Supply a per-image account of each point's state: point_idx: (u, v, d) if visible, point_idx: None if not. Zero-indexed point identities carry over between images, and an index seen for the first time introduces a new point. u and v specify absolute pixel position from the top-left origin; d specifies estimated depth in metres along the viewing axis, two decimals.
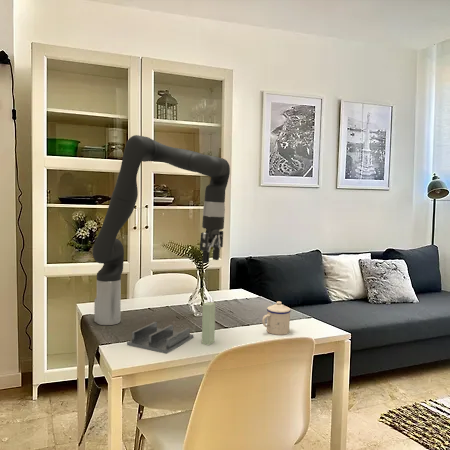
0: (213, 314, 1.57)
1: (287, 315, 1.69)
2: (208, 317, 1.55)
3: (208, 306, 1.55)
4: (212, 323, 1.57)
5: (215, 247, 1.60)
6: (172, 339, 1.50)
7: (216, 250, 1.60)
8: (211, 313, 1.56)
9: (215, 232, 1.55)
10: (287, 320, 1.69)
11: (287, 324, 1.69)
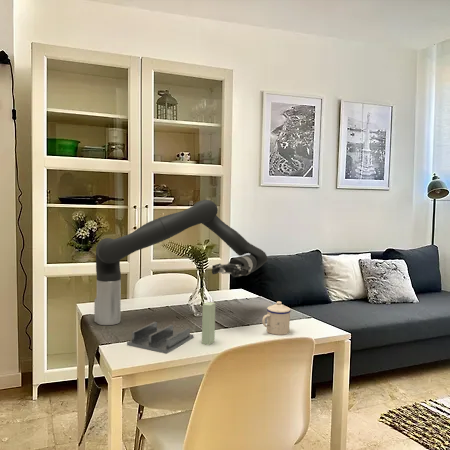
0: (213, 314, 1.57)
1: (287, 315, 1.69)
2: (208, 317, 1.55)
3: (208, 306, 1.55)
4: (212, 323, 1.57)
5: (218, 268, 1.72)
6: (172, 339, 1.50)
7: (217, 270, 1.71)
8: (211, 313, 1.56)
9: None
10: (287, 320, 1.69)
11: (287, 324, 1.69)
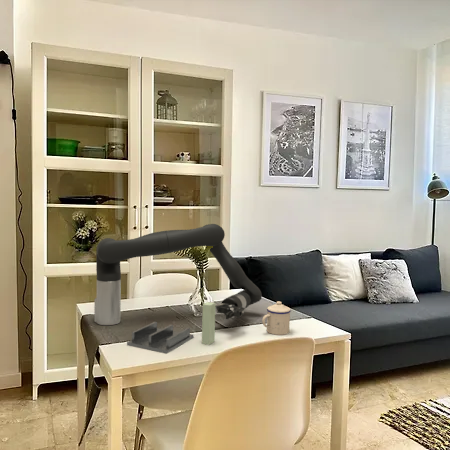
0: (213, 314, 1.57)
1: (287, 315, 1.69)
2: (208, 317, 1.55)
3: (208, 306, 1.55)
4: (212, 323, 1.57)
5: None
6: (172, 339, 1.50)
7: None
8: (211, 313, 1.56)
9: None
10: (287, 320, 1.69)
11: (287, 324, 1.69)
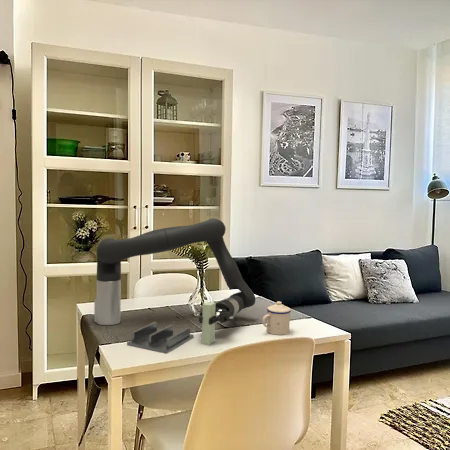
0: (213, 314, 1.57)
1: (287, 315, 1.69)
2: (208, 317, 1.55)
3: (208, 306, 1.55)
4: None
5: None
6: (172, 339, 1.50)
7: None
8: (211, 313, 1.56)
9: None
10: (287, 320, 1.69)
11: (287, 324, 1.69)
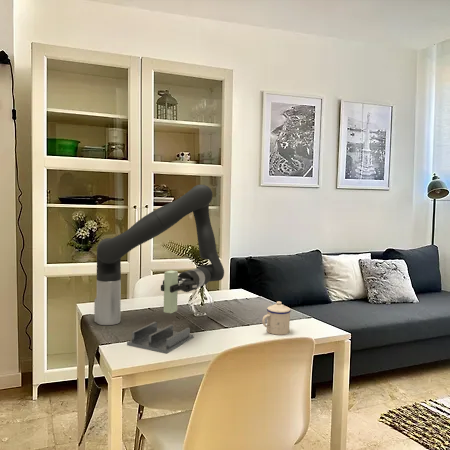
0: (175, 282, 1.55)
1: (287, 315, 1.69)
2: (170, 285, 1.53)
3: (170, 274, 1.52)
4: None
5: None
6: (172, 339, 1.50)
7: None
8: (173, 281, 1.53)
9: None
10: (287, 320, 1.69)
11: (287, 324, 1.69)
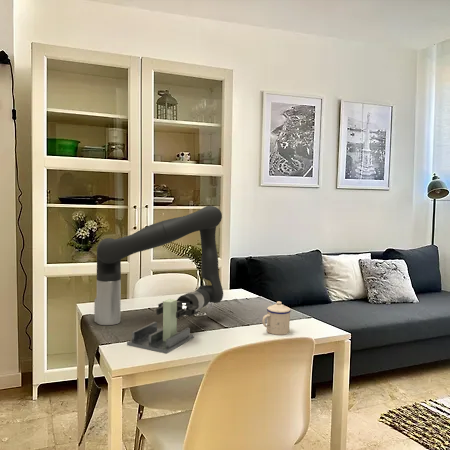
0: (174, 311, 1.56)
1: (287, 315, 1.69)
2: (169, 314, 1.53)
3: (168, 303, 1.53)
4: (173, 320, 1.55)
5: None
6: (172, 339, 1.50)
7: None
8: (172, 310, 1.54)
9: None
10: (287, 320, 1.69)
11: (287, 324, 1.69)
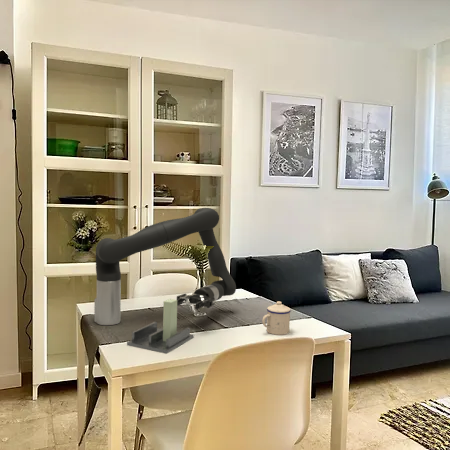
0: (174, 311, 1.55)
1: (287, 315, 1.69)
2: (169, 314, 1.53)
3: (169, 303, 1.53)
4: (173, 320, 1.55)
5: (182, 299, 1.71)
6: (172, 339, 1.50)
7: (181, 301, 1.70)
8: (172, 310, 1.54)
9: None
10: (287, 320, 1.69)
11: (287, 324, 1.69)
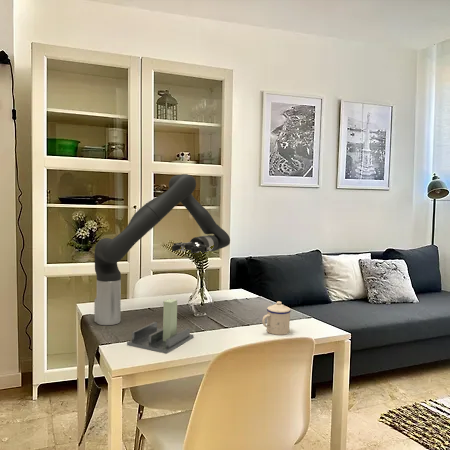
0: (174, 311, 1.55)
1: (287, 315, 1.69)
2: (169, 314, 1.53)
3: (169, 303, 1.53)
4: (173, 320, 1.55)
5: (178, 246, 1.81)
6: (172, 339, 1.50)
7: (178, 248, 1.80)
8: (172, 310, 1.54)
9: None
10: (287, 320, 1.69)
11: (287, 324, 1.69)
